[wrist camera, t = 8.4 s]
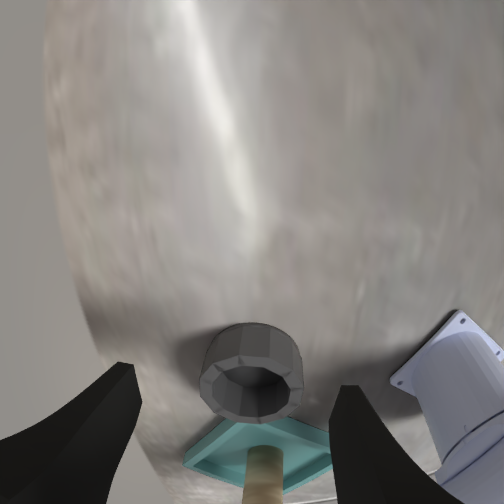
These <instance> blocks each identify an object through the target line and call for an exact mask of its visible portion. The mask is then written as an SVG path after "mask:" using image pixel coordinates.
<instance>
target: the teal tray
mask: <svg viewBox="0 0 504 504" xmlns="http://www.w3.org/2000/svg"><path fill="white" fill-rule="evenodd" d="M259 445H271V446H275V447H278V448H279V449H281V450H282V451H283V454H284V456H283V495H284V494H286V493H288V492H290V491H292V490H294V489H296V488H298V487H300V486H302V485H304V484H306V483H308V482H310V481H311V480H313V479H315V478H317V477H319V476H321V475H322V474H324V473H326V472H328V471H329V470H331V469H333V466H332V459H331V453H330V446H329V433H328V432H325V431H322V430H320V429H317V428H315V427H312V426H309V425H307V424H304V423H302V422H299V421H297V420H294V419H292V418H290V417H287V416H286V417H285V418H284V419H280V420H276V421H273V422H269V423H264V424H249V423H238V422H234V421H232V420H229V419H227V418H226V419H224V420H223V421H222V422H221V423H220V424H219V425H218V426H216V427H215V428H214V429H213V430H212V431H211V432H209V433H208V434H207V435H206V436H205V437H204V438H202V439H201V440H200V441H199V442H198V443H196V444H195V445H194V446H193V447H192V448H190V449H189V450H188V451H187V452H185V456H184V460H183V464H182V466H184V467H187V468H189V469H191V470H194V471H197V472H199V473H202V474H204V475H207V476H210V477H212V478H215V479H218V480H221V481H224V482H227V483H230V484H233V485H236V486H239V487H242V488H244V481H245V472H246V463H247V454H248V451H249V449H251V448H252V447H255V446H259Z"/></svg>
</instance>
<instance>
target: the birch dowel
mask: <svg viewBox="0 0 504 504" xmlns="http://www.w3.org/2000/svg"><path fill="white" fill-rule="evenodd" d="M283 456H284V454H283V451H282V450H281V449H279V448H278V447H275V446H271V445H259V446H255V447H252V448H251V449H249V451H248V454H247V463H246V472H245V481H244V490H243V499H242V504H282V501H283Z"/></svg>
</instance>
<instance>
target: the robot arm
mask: <svg viewBox="0 0 504 504" xmlns="http://www.w3.org/2000/svg"><path fill="white" fill-rule="evenodd" d="M461 319H463V320H461ZM503 359H504V350H503V349H502V348H501V347H500V346H499V345H498V344H497V343H496V342H495V341H494V340H493V339H492V338H490V337H489V336H488V335H487V334H486V333H485V332H484V331H483V330H482V329H481V328H480V327H479V326H478V325H477V324H476V323H475V322H474V321H473V320H472V319H471V318H469V317H468V316H467V315H466V314H465V313H464V312H463V311H462V310H458V311H456V312H455V313H454V314H453V315H452V316H451V318H450V319H449V320H448V321H447V322H446V323H445V324H444V325H443V326H442V327H441V328H440V329H439V331H438V332H437V333H436V334H435V335H434V336H433V337H432V338H431V339H430V340H429V341H428V342H427V343H426V344H425V345H424V346H423V347H422V348H421V349H420V350H419V351H418V352H417V353H416V354H415V355H414V356H413V357H412V358H411V359H410V360H409V361H408V362H407V363H405V364H404V365H403V366H402V367H401V368H400V369H399V370H398V371H397V372H396V373H395V374H394V375H392V376H391V378H390V383H391V385H393V386H395V387H397V388H399V389H401V390H403V391H405V392H407V393H409V394H411V395H413V396H415V397H417V399H418V401H419V404H420V407H421V409H422V412H423V414H424V417H425V419H426V422H427V425H428V427H429V430H430V433H431V435H432V438H433V441H434V444H435V447H436V449H437V452H438V455H439V458H440V461H441V464H442V466H441V467H440V468H439V469H438V470H437V471H436V472H435V476H436V480H437V483H438V484H437V483H436V482H435V481H434V480H432V479H431V478H430V477H429V476H428V475H427V474H426V473H425V472H424V471H423V470H422V469H421V468H420V467H419V466H418V465H417V464H416V463H415V462H414V461H413V460H412V459H411V458H410V457H409V455H408V454H407V453H406V452H405V451H404V450H403V448H402V447H401V446H400V445H399V443H398V442H397V441H396V440H395V438H394V437H393V436H392V434H391V433H390V432H389V430H388V429H387V427H386V426H385V425H384V423H383V422H382V421H381V419H380V418H379V416H378V415H377V413H376V412H375V410H374V409H373V407H372V406H371V404H370V402H369V401H368V399H367V398H366V396H365V395H364V393H363V391H362V390H361V388H360V387H359V386H358V385H341V388H340V391H339V394H338V397H337V400H336V403H335V406H334V408H333V411H332V414H331V417H330V419H329V446H330V453H331V459H332V466H333V472H334V479H335V486H336V492H337V501H338V504H504V366H503V365H502V364H501V361H502V360H503ZM399 381H400V382H399ZM141 405H142V399H141V395H140V391H139V387H138V382H137V378H136V374H135V369H134V365H133V364H128V363H123V362H117V363H116V364H115V365H113V366H112V367H111V368H110V369H109V370H108V371H106V372H105V373H104V374H103V375H102V376H101V377H99V378H98V379H97V380H96V381H95V382H94V383H92V384H91V385H90V386H89V387H88V388H86V389H85V390H84V391H83V392H81V393H80V394H79V395H78V396H77V397H75V398H74V399H73V400H71V401H70V402H69V403H67V404H66V405H64V406H63V407H62V408H61V409H59V410H58V411H56V412H55V413H53V414H52V415H50V416H49V417H47V418H45V419H44V420H42V421H40V422H38V423H37V424H35V425H33V426H31V427H29V428H27V429H25V430H23V431H21V432H19V433H17V434H14V435H12V436H10V437H7V438H5V439H2V440H0V504H106V502H107V498H108V494H109V491H110V487H111V484H112V480H113V477H114V474H115V472H116V469H117V467H118V464H119V462H120V460H121V458H122V455H123V453H124V451H125V449H126V446H127V444H128V442H129V439H130V437H131V435H132V433H133V430H134V428H135V426H136V423H137V419H138V416H139V412H140V409H141Z"/></svg>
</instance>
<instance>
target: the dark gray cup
mask: <svg viewBox="0 0 504 504" xmlns="http://www.w3.org/2000/svg"><path fill="white" fill-rule="evenodd" d="M199 382H200V397H201V398H202V399H203V400H204V402H205V403H206V404H207V405H208V406H209V407H210V408H211V410H212V411H213V412H214V413H216V414H218V415H221V416H223V417H225V418H227V419H229V420H232V421H234V422H238V423H249V424H264V423H269V422H273V421H276V420H280V419H284V418H285V417H286V416H288V415H289V414H290V413H291V412H292V411H294V410H295V409H296V408H297V407H299V406H300V402H301V398H302V394H303V390H304V382H303V369H302V358H301V356H300V353H299V349H298V347H297V345H296V343H295V342H294V340H293V339H292V338H291V337H290V336H289V335H288V334H286V333H285V332H283V331H282V330H280V329H278V328H276V327H273V326H270V325H267V324H262V323H242V324H237V325H234V326H231V327H229V328H227V329H225V330H223V331H222V332H221V333H219V334H218V335H217V336H216V337H215V339H214V340H213V342H212V344H211V346H210V348H209V349H208V350H207V354H206V357H205V361H204V364H203V368H202V371H201V375H200V378H199Z"/></svg>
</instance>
